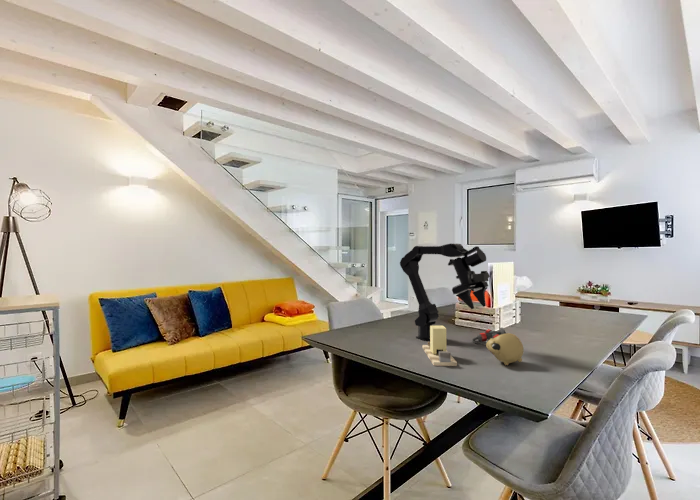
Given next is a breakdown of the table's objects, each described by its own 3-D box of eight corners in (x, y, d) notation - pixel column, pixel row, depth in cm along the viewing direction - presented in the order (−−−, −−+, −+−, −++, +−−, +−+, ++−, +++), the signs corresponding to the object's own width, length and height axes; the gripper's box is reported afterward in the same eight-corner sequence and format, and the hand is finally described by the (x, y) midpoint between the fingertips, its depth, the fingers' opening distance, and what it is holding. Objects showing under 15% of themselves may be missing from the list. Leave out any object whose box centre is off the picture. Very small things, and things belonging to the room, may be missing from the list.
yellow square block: (430, 350, 132) (430, 325, 132) (443, 350, 132) (443, 325, 132) (432, 354, 127) (432, 328, 127) (446, 354, 127) (446, 328, 127)
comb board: (422, 347, 140) (422, 337, 140) (442, 347, 140) (441, 337, 140) (433, 365, 118) (433, 353, 118) (456, 365, 118) (456, 353, 118)
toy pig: (482, 358, 126) (482, 329, 126) (515, 358, 126) (515, 329, 126) (493, 367, 116) (493, 336, 116) (528, 367, 116) (528, 336, 116)
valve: (467, 341, 158) (500, 337, 157) (485, 362, 132) (525, 357, 131) (465, 328, 158) (498, 323, 157) (483, 346, 132) (523, 341, 131)
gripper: (467, 264, 129) (484, 303, 124) (491, 263, 142) (507, 298, 136) (444, 275, 137) (459, 312, 132) (469, 273, 149) (483, 307, 144)
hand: (478, 307), depth 136 cm, fingers open, 9 cm apart
